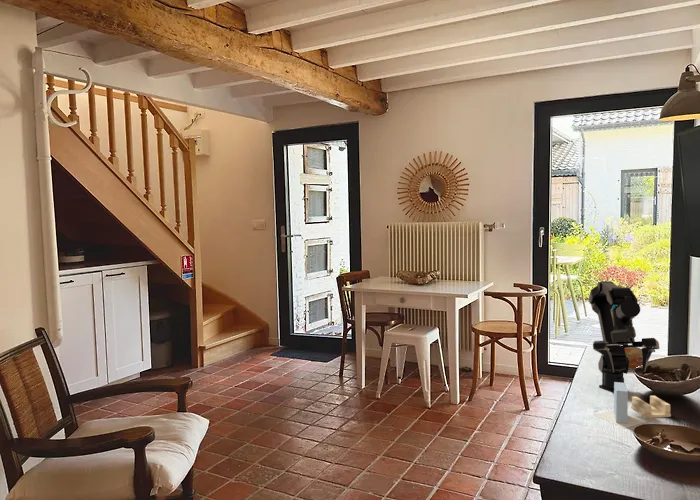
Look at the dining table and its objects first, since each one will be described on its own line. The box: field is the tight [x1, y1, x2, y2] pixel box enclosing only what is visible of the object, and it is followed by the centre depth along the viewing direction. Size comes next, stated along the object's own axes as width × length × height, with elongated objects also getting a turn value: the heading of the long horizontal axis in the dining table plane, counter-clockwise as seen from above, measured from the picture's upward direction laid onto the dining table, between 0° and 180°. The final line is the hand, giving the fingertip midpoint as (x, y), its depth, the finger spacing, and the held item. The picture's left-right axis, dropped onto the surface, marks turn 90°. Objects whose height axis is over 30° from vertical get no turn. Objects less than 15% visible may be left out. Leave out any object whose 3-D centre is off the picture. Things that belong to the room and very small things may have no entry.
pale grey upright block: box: [613, 382, 629, 424], centre depth 166 cm, size 8×3×10 cm, turn 159°
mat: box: [594, 409, 649, 429], centre depth 166 cm, size 11×10×1 cm
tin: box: [624, 347, 643, 368], centre depth 214 cm, size 15×3×8 cm, turn 73°
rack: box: [630, 395, 672, 419], centre depth 170 cm, size 8×8×4 cm
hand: (628, 372), depth 173 cm, fingers open, 9 cm apart
